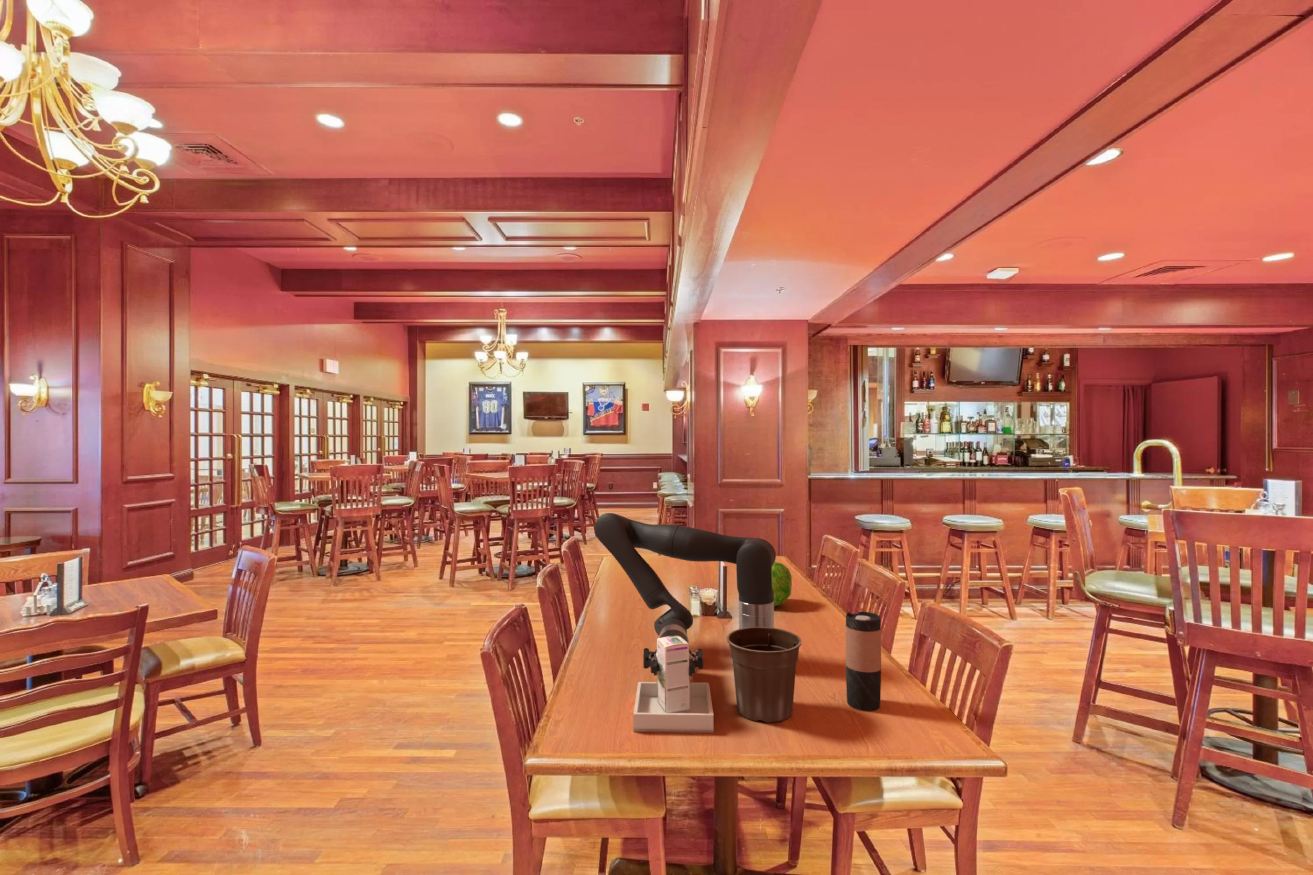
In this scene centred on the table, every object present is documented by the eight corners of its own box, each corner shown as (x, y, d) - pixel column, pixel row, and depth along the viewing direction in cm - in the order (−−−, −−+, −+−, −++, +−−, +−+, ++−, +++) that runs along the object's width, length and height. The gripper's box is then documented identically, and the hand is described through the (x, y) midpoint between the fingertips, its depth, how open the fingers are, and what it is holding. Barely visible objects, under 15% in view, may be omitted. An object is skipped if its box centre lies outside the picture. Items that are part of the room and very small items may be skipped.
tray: (708, 698, 138) (708, 682, 138) (713, 732, 122) (713, 714, 122) (638, 697, 139) (638, 681, 139) (633, 731, 122) (633, 714, 122)
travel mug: (877, 714, 130) (877, 622, 130) (841, 706, 134) (841, 617, 134) (884, 701, 136) (884, 614, 136) (850, 694, 140) (850, 609, 140)
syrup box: (690, 709, 129) (690, 642, 129) (665, 714, 127) (665, 645, 127) (680, 698, 134) (680, 634, 134) (656, 702, 132) (656, 637, 132)
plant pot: (765, 736, 120) (764, 656, 121) (712, 707, 133) (711, 635, 134) (817, 714, 130) (817, 640, 130) (763, 689, 143) (762, 622, 143)
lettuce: (778, 600, 228) (753, 566, 231) (810, 582, 213) (783, 546, 216) (751, 624, 217) (725, 588, 220) (783, 607, 202) (755, 568, 205)
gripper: (643, 628, 145) (639, 653, 128) (702, 629, 145) (706, 654, 128) (643, 659, 145) (639, 688, 129) (702, 660, 145) (706, 689, 128)
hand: (673, 671), depth 128 cm, fingers closed on syrup box, 7 cm apart
